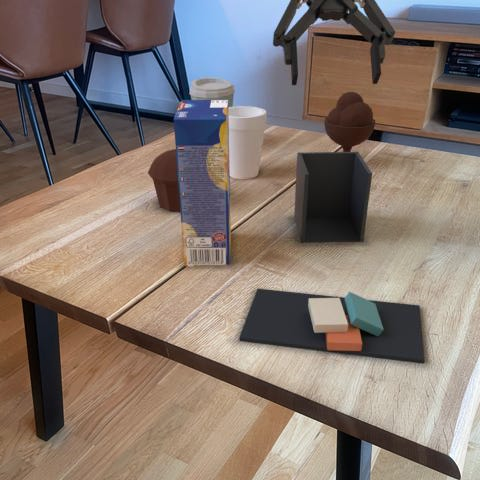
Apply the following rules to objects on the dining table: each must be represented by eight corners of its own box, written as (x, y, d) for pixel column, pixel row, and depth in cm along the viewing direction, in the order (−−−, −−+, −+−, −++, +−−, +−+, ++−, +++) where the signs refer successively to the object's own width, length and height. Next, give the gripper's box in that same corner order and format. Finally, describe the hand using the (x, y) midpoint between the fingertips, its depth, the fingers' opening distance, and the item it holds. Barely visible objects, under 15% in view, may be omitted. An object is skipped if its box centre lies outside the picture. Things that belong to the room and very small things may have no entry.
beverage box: (230, 236, 93) (228, 99, 81) (229, 268, 84) (226, 119, 72) (190, 236, 93) (181, 99, 81) (184, 268, 84) (173, 119, 72)
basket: (294, 219, 99) (297, 152, 92) (350, 218, 99) (358, 151, 92) (300, 246, 90) (305, 174, 84) (363, 244, 90) (372, 173, 84)
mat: (418, 310, 74) (419, 305, 74) (423, 365, 65) (424, 359, 64) (257, 293, 78) (257, 288, 78) (239, 342, 68) (239, 337, 68)
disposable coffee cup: (245, 146, 135) (245, 80, 127) (213, 157, 129) (211, 88, 120) (214, 138, 141) (212, 74, 133) (183, 147, 135) (178, 81, 126)
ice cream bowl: (310, 164, 124) (315, 93, 115) (342, 153, 130) (348, 85, 121) (348, 176, 117) (356, 102, 109) (380, 164, 123) (389, 93, 115)
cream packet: (314, 324, 66) (314, 332, 67) (348, 324, 66) (347, 332, 67) (308, 298, 71) (308, 306, 72) (339, 297, 71) (338, 305, 72)
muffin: (153, 218, 100) (147, 163, 94) (148, 196, 109) (143, 144, 103) (218, 212, 102) (216, 158, 96) (208, 191, 111) (206, 140, 105)
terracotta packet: (328, 342, 65) (327, 350, 66) (362, 343, 65) (361, 351, 66) (324, 314, 70) (323, 322, 71) (356, 314, 70) (355, 322, 70)
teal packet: (356, 317, 66) (350, 324, 67) (384, 329, 67) (378, 337, 68) (349, 291, 71) (344, 298, 72) (375, 303, 72) (370, 310, 73)
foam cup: (231, 185, 113) (230, 120, 106) (214, 171, 120) (212, 109, 113) (272, 178, 116) (274, 114, 109) (254, 165, 123) (254, 104, 116)
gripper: (394, -15, 100) (404, 91, 95) (256, -13, 99) (259, 94, 95) (407, -50, 92) (418, 63, 88) (257, -48, 92) (261, 66, 88)
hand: (335, 79), depth 92 cm, fingers open, 13 cm apart
